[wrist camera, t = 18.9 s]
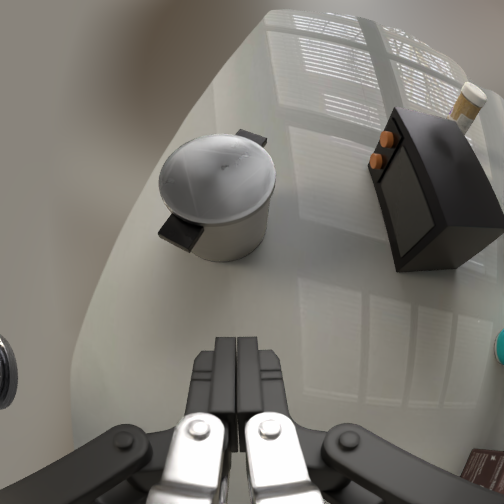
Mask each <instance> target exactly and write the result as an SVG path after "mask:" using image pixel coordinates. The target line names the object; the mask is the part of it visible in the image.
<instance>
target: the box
mask: <svg viewBox="0 0 504 504" xmlns="http://www.w3.org/2000/svg"><path fill="white" fill-rule="evenodd" d="M460 477H461V478H463V479H465V480H468V481H470V482H473V483H475V484H477V485H480V486H482V487H485V488H488V489H490V490H493V491H495V492H498V493H501V494H504V451H495V450H484V449H473V450H472V452H471V454H470V457H469V459H468V461H467V463H466V466H465V468H464V470H463V472H462V474H461V476H460Z"/></svg>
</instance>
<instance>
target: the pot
mask: <svg viewBox="0 0 504 504" xmlns="http://www.w3.org/2000/svg"><path fill="white" fill-rule="evenodd" d="M266 143H267V138H265V137H262V136H259V135H257V134H254V133H251V132H248V131H245V130H242V129H240V130H239V131H238V132H237V133H236V134H235V135H231V134H212V135H206V136H202V137H199V138H196V139H193V140H191V141H189V142H187V143H185V144H183V145H182V146H180V147H179V148H178V149H176V150H175V151H174V152H173V153H172V154H171V155H170V156H169V157H168V159H167V160H166V161H165V163H164V165H163V167H162V169H161V172H160V176H159V190H160V194H161V197H162V199H163V201H164V203H165V205H166V206H167V208H168V209H169V210H170V211H171V213H172V214H171V215H170V217H169V218H168V219H167V221H166V222H165V223H164V225H163V226H162V228H161V229H160V230H159V232H158V235H159V237H160V238H162V239H164V240H166V241H168V242H169V243H171V244H173V245H175V246H177V247H179V248H181V249H183V250H185V251H187V252H188V253H190V252H193V253H194V254H195V255H197V256H199V257H201V258H203V259H206V260H209V261H215V262H227V261H233V260H236V259H239V258H242V257H244V256H246V255H247V254H249V253H250V252H252V251H253V250H254V249H255V248H256V247H257V246H258V245H259V244H260V242H261V241H262V239H263V237H264V235H265V232H266V227H267V219H268V211H269V203H270V198H271V196H272V194H273V191H274V188H275V182H276V170H275V166H274V163H273V161H272V159H271V157H270V156H269V154H268V153H267V152H266V151H265V150H264V149H263V147H264V146H265V145H266Z"/></svg>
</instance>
